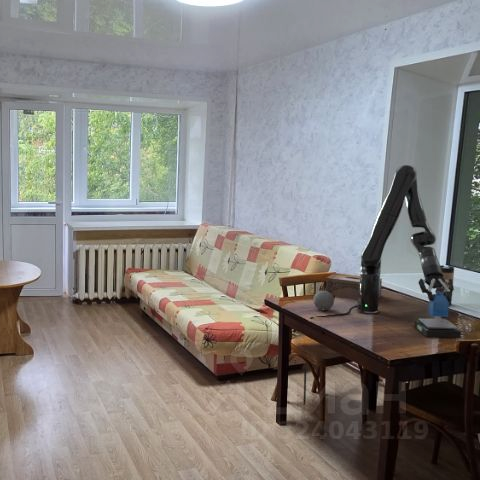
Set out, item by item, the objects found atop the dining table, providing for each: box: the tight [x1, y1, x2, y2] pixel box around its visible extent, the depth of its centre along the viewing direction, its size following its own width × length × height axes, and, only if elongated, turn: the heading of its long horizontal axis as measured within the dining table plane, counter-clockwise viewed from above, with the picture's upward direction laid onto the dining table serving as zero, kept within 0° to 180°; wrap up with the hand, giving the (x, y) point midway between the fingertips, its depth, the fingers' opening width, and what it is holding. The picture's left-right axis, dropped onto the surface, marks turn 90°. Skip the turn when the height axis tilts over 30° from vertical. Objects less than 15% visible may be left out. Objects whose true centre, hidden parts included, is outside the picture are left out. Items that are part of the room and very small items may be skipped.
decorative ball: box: [312, 290, 335, 311], centre depth 266 cm, size 10×10×10 cm
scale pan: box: [417, 318, 459, 329], centre depth 231 cm, size 12×12×1 cm
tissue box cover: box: [325, 272, 383, 301], centre depth 292 cm, size 26×14×10 cm, turn 52°
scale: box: [414, 319, 462, 339], centre depth 232 cm, size 14×14×3 cm
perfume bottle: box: [428, 287, 450, 318], centre depth 230 cm, size 6×6×12 cm
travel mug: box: [440, 264, 455, 307], centre depth 272 cm, size 8×8×20 cm
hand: (440, 300), depth 228 cm, fingers closed on perfume bottle, 6 cm apart
